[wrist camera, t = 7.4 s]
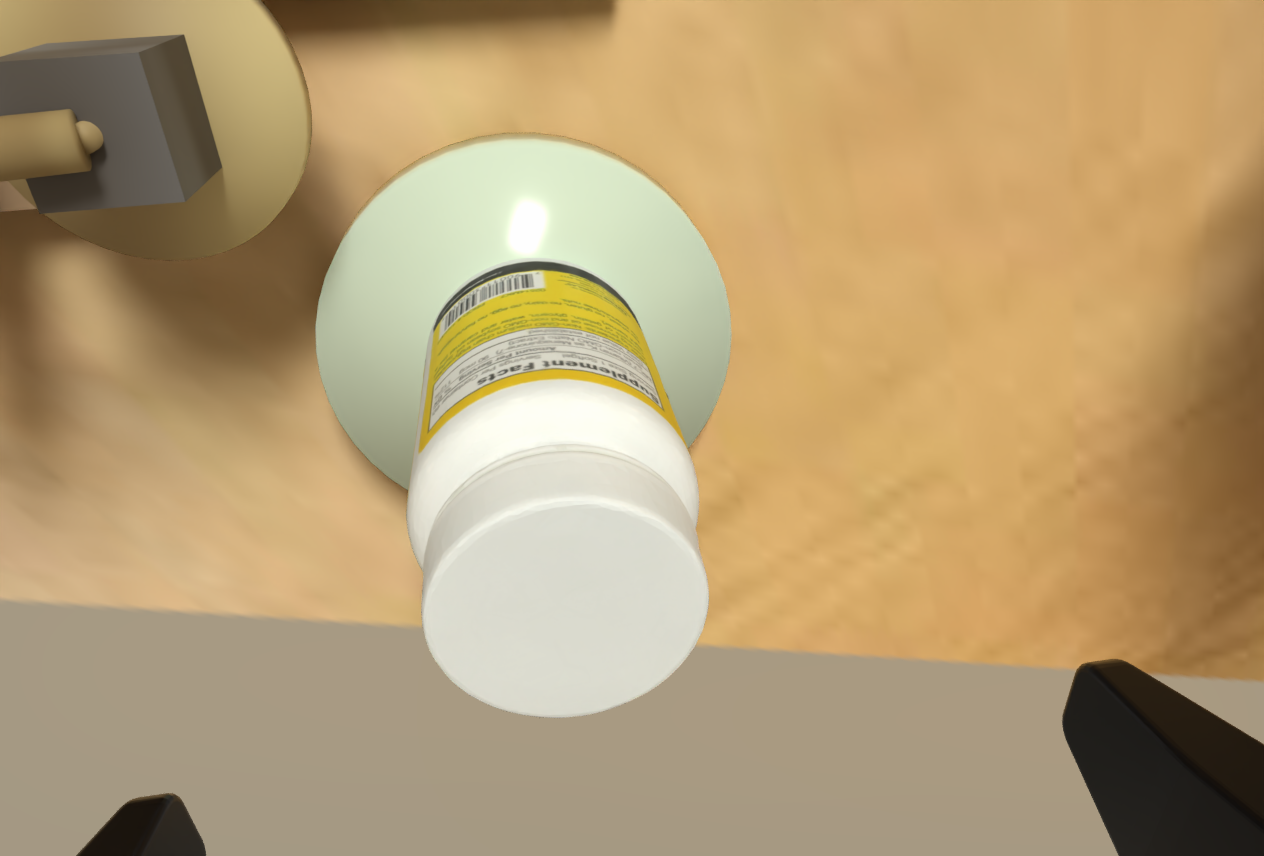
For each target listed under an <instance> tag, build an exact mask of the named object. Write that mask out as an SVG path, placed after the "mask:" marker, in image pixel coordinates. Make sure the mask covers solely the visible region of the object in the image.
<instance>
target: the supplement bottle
mask: <svg viewBox="0 0 1264 856" xmlns="http://www.w3.org/2000/svg"><path fill="white" fill-rule="evenodd" d="M698 512H699V490H698V483H697V477H696V473H695V468H694V464H693V461H692V459H691V456H690V453H689V450H688V447H687V445H686V442H685V440H684V438H683V435H682V433H681V430H680V427H679V425H678V423H677V420H676V417H675V415H674V412H673V410H672V407H671V404H670V401H669V398H668V395H667V393H666V392H665V389H664V387H663V384H662V381H661V378H660V375H659V372H658V370H657V368H656V365H655V363H654V360H653V357H652V355H651V352H650V349H649V347H648V344H647V342H646V339H645V337H644V334H643V332H642V329H641V327H640V324H639V322H638V320H637V318H636V316H635V314H634V312H633V310H632V309H631V307H630V306H629V304H628V302H627V301H626V300H625V299H624V297H623V296H622V295H621V294H620V293H619V292H618V291H617V290H616V289H615V288H614V287H613V286H612V285H611V284H610V283H609V282H607V281H606V280H605V279H603V278H602V277H601V276H599V275H597V274H596V273H594V272H592V271H590V270H588V269H586V268H584V267H582V266H579V265H576V264H573V263H570V262H567V261H562V260H556V259H550V258H524V259H515V260H511V261H506V262H503V263H499V264H497V265H494V266H492V267H489V268H487V269H485V270H483V271H481V272H479V273H478V274H476V275H474V276H473V277H471V278H470V279H468V280H467V281H466V282H464V283H463V284H462V285H461V286H460V287H459V288H458V289H457V290H456V291H455V292H454V293H453V294H452V295H451V296H450V297H449V298H448V300H447V301H446V302H445V304H444V305H443V306H442V308H441V310H440V311H439V313H438V315H437V317H436V319H435V321H434V323H433V326H432V329H431V331H430V335H429V339H428V344H427V352H426V360H425V367H424V373H423V384H422V391H421V400H420V409H419V416H418V425H417V432H416V440H415V447H414V454H413V462H412V469H411V476H410V483H409V490H408V497H407V509H406V519H407V528H408V534H409V538H410V542H411V546H412V549H413V552H414V555H415V557H416V559H417V562H418V564H419V566H420V567H421V569H422V571H423V590H422V609H421V613H422V626H423V630H424V635H425V639H426V643H427V645H428V647H429V650H430V652H431V654H432V656H433V658H434V660H435V661H436V662H437V664H438V665H439V666H440V668H441V670H442V671H443V672H444V673H445V674H446V675H447V677H448V678H449V679H450V680H451V681H452V682H453V683H455V684H456V685H457V686H458V687H459V688H461V689H462V690H463V691H465V692H466V693H467V694H469V695H470V696H472V697H474V698H476V699H478V700H480V701H482V702H484V703H486V704H488V705H491V706H493V707H495V708H498V709H501V710H505V711H508V712H512V713H516V714H521V715H527V716H534V717H549V718H564V717H574V716H584V715H589V714H594V713H598V712H602V711H606V710H609V709H612V708H614V707H617V706H620V705H622V704H625V703H627V702H629V701H631V700H634V699H636V698H638V697H640V696H642V695H644V694H646V693H647V692H649V691H650V690H652V689H653V688H655V687H656V686H658V685H659V684H660V683H662V682H663V681H664V680H665V679H667V678H668V677H669V676H670V675H671V674H672V673H673V672H674V671H675V670H676V669H677V668H678V667H679V666H680V665H681V664H682V663H683V662H684V660H685V659H686V658H687V657H688V655H689V654H690V652H691V651H692V649H693V648H694V646H695V645H696V643H697V641H698V639H699V637H700V635H701V633H702V630H703V627H704V624H705V620H706V616H707V612H708V604H709V590H708V581H707V575H706V571H705V568H704V564H703V561H702V557H701V554H700V550H699V544H698V537H697V533H696V525H697V519H698Z"/></svg>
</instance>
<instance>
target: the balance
mask: <svg viewBox="0 0 1264 856" xmlns="http://www.w3.org/2000/svg"><path fill="white" fill-rule="evenodd" d="M311 136H312V113H311V105H310V99H309V92H308V88H307V84H306V81H305V77H304V74H303V71H302V68H301V65H300V63H299V61H298V58H297V56H296V53H295V51H294V49H293V47H292V45H291V43H290V41H289V40H288V38H287V36H286V34H285V33H284V31H283V29H282V27H281V26H280V24H279V23H278V22H277V20H276V19H275V18H274V16H273V15H272V13H271V12H270V11H269V9H268V8H267V7H266V5H265V4H264V3H263V2H262V1H261V0H0V212H4V211H16V210H28V209H38V211H39V213H40V214H44V215H45V216H47V217H48V218H50V219H51V220H53V221H54V222H56V223H57V224H58V225H60V226H61V227H63V228H65V229H66V230H68V231H70V232H72V233H74V234H75V235H77V236H79V237H81V238H83V239H85V240H87V241H89V242H92V243H94V244H96V245H99V246H101V247H103V248H106V249H109V250H113V251H116V252H119V253H122V254H125V255H130V256H135V257H140V258H145V259H154V260H166V261H174V260H192V259H198V258H205V257H209V256H213V255H216V254H220V253H223V252H226V251H228V250H230V249H233V248H235V247H237V246H239V245H242V244H243V243H245V242H246V241H248V240H250V239H251V238H253V237H254V236H256V235H257V234H259V233H260V232H261V231H262V230H263V229H264V228H266V227H267V226H268V225H269V224H270V223H271V222H272V221H273V220H274V219H275V217H276V216H277V215H278V214H279V213H280V211H281V210H282V209H283V208H284V206H285V205H286V203H287V202H288V201H289V199H290V197H291V196H292V194H293V193H294V191H295V189H296V188H297V186H298V184H299V182H300V180H301V177H302V175H303V172H304V170H305V168H306V164H307V160H308V156H309V152H310V145H311Z"/></svg>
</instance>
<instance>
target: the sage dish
mask: <svg viewBox="0 0 1264 856" xmlns="http://www.w3.org/2000/svg"><path fill="white" fill-rule="evenodd" d="M524 258H550V259H556V260H562V261H567V262H570V263H573V264H576V265H579V266H582V267H584V268H586V269H588V270H590V271H592V272H594V273H596V274H597V275H599V276H601V277H602V278H603V279H605V280H606V281H607V282H609V283H610V284H611V285H612V286H613V287H614V288H615V289H616V290H617V291H618V292H619V293H620V294H621V295H622V296H623V297H624V299H625V300H626V301H627V302H628V304H629V306H630V307H631V309H632V310H633V312H634V314H635V316H636V318H637V320H638V322H639V324H640V327H641V329H642V332H643V334H644V337H645V339H646V342H647V344H648V347H649V349H650V352H651V355H652V357H653V360H654V363H655V365H656V368H657V370H658V372H659V375H660V378H661V381H662V384H663V387H664V389H665V392H666V393H667V395H668V398H669V401H670V404H671V407H672V410H673V412H674V415H675V417H676V420H677V423H678V425H679V427H680V430H681V433H682V435H683V438H684V440H685V442H686V445H687V447H688V448H689V446H690V445H691V444H692V443H693V442H694V440H695V439H696V437H697V436H698V434H699V433H700V432H701V430H702V429H703V427H704V426H705V424H706V422H707V421H708V419H709V417H710V415H711V413H712V411H713V409H714V407H715V405H716V403H717V401H718V398H719V395H720V393H721V390H722V387H723V384H724V381H725V377H726V373H727V368H728V364H729V359H730V347H731V319H730V309H729V304H728V299H727V294H726V289H725V286H724V283H723V280H722V277H721V274H720V272H719V269H718V266H717V263H716V262H715V260H714V258H713V256H712V254H711V252H710V250H709V248H708V246H707V244H706V243H705V241H704V239H703V238H702V236H701V235H700V233H699V231H698V230H697V228H696V227H695V225H694V224H693V222H692V221H691V220H690V218H689V217H688V215H687V214H686V213H685V211H684V210H683V209H682V207H681V206H680V204H679V203H678V202H677V201H676V200H675V199H674V198H673V197H672V196H671V195H670V194H669V193H668V192H667V191H666V190H665V189H664V188H663V186H662V185H661V184H659V183H658V182H657V181H656V180H654V179H653V178H652V177H650V176H649V175H648V174H647V173H645V172H644V171H643V170H641V169H640V168H639V167H637V166H635V165H634V164H632V163H630V162H628V161H627V160H625V159H623V158H622V157H620V156H618V155H616V154H614V153H612V152H609V151H607V150H605V149H602V148H600V147H597V146H595V145H593V144H590V143H586V142H583V141H579V140H575V139H571V138H567V137H564V136H557V135H549V134H541V133H501V134H495V135H488V136H481V137H475V138H472V139H468V140H465V141H461V142H458V143H454V144H451V145H448V146H446V147H443V148H441V149H439V150H437V151H435V152H432V153H430V154H428V155H426V156H423V157H422V158H420V159H418V160H417V161H415V162H414V163H412V164H410V165H409V166H407V167H406V168H404V169H402V170H401V171H399V172H398V173H397V174H396V175H394V176H393V177H392V178H391V179H390V180H388V181H387V182H386V183H385V184H384V185H383V186H381V187H380V188H379V189H378V190H377V191H376V192H375V193H374V194H373V196H372V197H371V198H370V199H369V200H368V201H367V202H366V204H365V205H364V206H363V207H362V208H361V209H360V211H359V212H358V214H357V215H356V217H355V218H354V220H353V221H352V223H351V224H350V226H349V228H348V229H347V231H346V232H345V234H344V237H343V239H342V241H341V243H340V245H339V247H338V250H337V252H336V254H335V256H334V258H333V261H332V263H331V265H330V267H329V269H328V272H327V274H326V276H325V280H324V284H323V287H322V291H321V294H320V298H319V302H318V310H317V318H316V327H315V329H316V354H317V359H318V365H319V370H320V376H321V379H322V382H323V385H324V388H325V391H326V394H327V397H328V400H329V402H330V404H331V406H332V408H333V410H334V412H335V414H336V416H337V418H338V420H339V422H340V424H341V425H342V427H343V428H344V430H345V431H346V433H347V434H348V436H349V437H350V438H351V440H352V441H353V443H354V444H355V445H356V446H357V447H358V449H359V450H360V451H361V452H362V453H363V454H364V455H365V456H366V457H367V459H368V460H369V461H370V462H371V463H372V464H374V465H375V466H376V467H377V468H378V469H379V470H381V471H382V472H383V473H384V474H385V475H386V476H387V477H389V478H390V479H391V480H393V481H394V482H396V483H397V484H399V485H400V486H402V487H403V488H405V489H406V490H409V483H410V476H411V469H412V462H413V454H414V447H415V440H416V432H417V425H418V416H419V409H420V400H421V391H422V384H423V373H424V367H425V360H426V352H427V344H428V339H429V335H430V331H431V329H432V326H433V323H434V321H435V319H436V317H437V315H438V313H439V311H440V310H441V308H442V306H443V305H444V304H445V302H446V301H447V300H448V298H449V297H450V296H451V295H452V294H453V293H454V292H455V291H456V290H457V289H458V288H459V287H460V286H461V285H462V284H463V283H464V282H466V281H467V280H468V279H470V278H471V277H473V276H474V275H476V274H478V273H479V272H481V271H483V270H485V269H487V268H489V267H492V266H494V265H497V264H499V263H503V262H506V261H511V260H515V259H524Z"/></svg>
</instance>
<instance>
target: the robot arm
mask: <svg viewBox="0 0 1264 856" xmlns="http://www.w3.org/2000/svg"><path fill="white" fill-rule="evenodd" d="M1062 723H1063V731H1064V734H1065V738H1066V740H1067V743H1068V745H1069V747H1070V750H1071V752H1072V754H1073V756H1074V758H1075V760H1076V763H1077V765H1078V767H1079V769H1080V772H1081V774H1082V776H1083V778H1084V780H1085V783H1086V785H1087V787H1088V789H1089V791H1090V794H1091V796H1092V798H1093V800H1094V802H1095V805H1096V807H1097V809H1098V811H1099V813H1100V816H1101V818H1102V820H1103V822H1104V825H1105V827H1106V829H1107V831H1108V833H1109V835H1110V838H1111V840H1112V842H1113V844H1114V846H1115V849H1116V851H1117V853H1118V855H1119V856H1264V744H1262V743H1261V742H1259V741H1258V740H1256V739H1254V738H1252V737H1251V736H1249V735H1247V734H1246V733H1244V732H1243V731H1241V730H1239V729H1238V728H1236V727H1234V726H1233V725H1231V724H1229V723H1228V722H1226V721H1224V720H1223V719H1221V718H1219V717H1218V716H1216V715H1214V714H1213V713H1211V712H1209V711H1208V710H1206V709H1204V708H1203V707H1201V706H1199V705H1198V704H1196V703H1195V702H1193V701H1191V700H1190V699H1188V698H1186V697H1185V696H1183V695H1181V694H1180V693H1178V692H1176V691H1175V690H1173V689H1171V688H1170V687H1168V686H1166V685H1165V684H1163V683H1161V682H1160V681H1158V680H1156V679H1155V678H1153V677H1151V676H1150V675H1148V674H1147V673H1145V672H1143V671H1142V670H1140V669H1138V668H1137V667H1135V666H1133V665H1132V664H1130V663H1128V662H1126V661H1123V660H1119V659H1109V660H1102V661H1095V662H1088V663H1084V664H1082V665H1081V666H1080V667H1079V668H1078V669H1077V671H1076V673H1075V676H1074V679H1073V682H1072V686H1071V689H1070V692H1069V696H1068V699H1067V702H1066V706H1065V709H1064V713H1063V721H1062ZM76 856H206V851H205V846H204V843H203V840H202V838H201V836H200V835H199V833H198V831H197V829H196V827H195V825H194V823H193V821H192V819H191V817H190V815H189V813H188V811H187V809H186V807H185V805H184V803H183V802H182V800H181V799H180V797H178V796H177V795H175V794H173V793H166V794H159V795H152V796H146V797H139V798H135V799H132V800H130V801H129V802H127V803H126V804H125V805H123V806H122V807H121V808H120V809H119V810H118V811H117V812H116V813H115V814H114V815H113V816H112V817H111V818H110V820H109V821H108V822H107V823H106V824H105V825H104V826H103V827H102V828H101V829H100V830H99V831H98V833H97V834H96V835H95V836H94V837H93V838H92V839H91V840H90V841H89V842H88V843H87V845H86V846H85V847H84V848H83V849H82V850H81V851H80V852H79V853H78V854H77V855H76Z"/></svg>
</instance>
